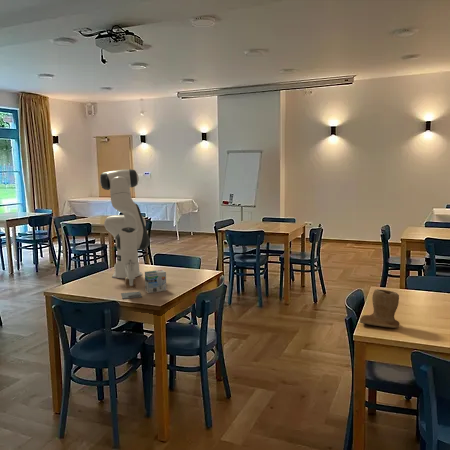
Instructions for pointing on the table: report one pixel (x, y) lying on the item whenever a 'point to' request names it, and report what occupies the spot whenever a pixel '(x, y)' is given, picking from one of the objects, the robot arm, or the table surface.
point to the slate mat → (131, 295)
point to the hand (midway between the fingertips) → (130, 284)
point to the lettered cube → (128, 283)
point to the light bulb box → (155, 281)
